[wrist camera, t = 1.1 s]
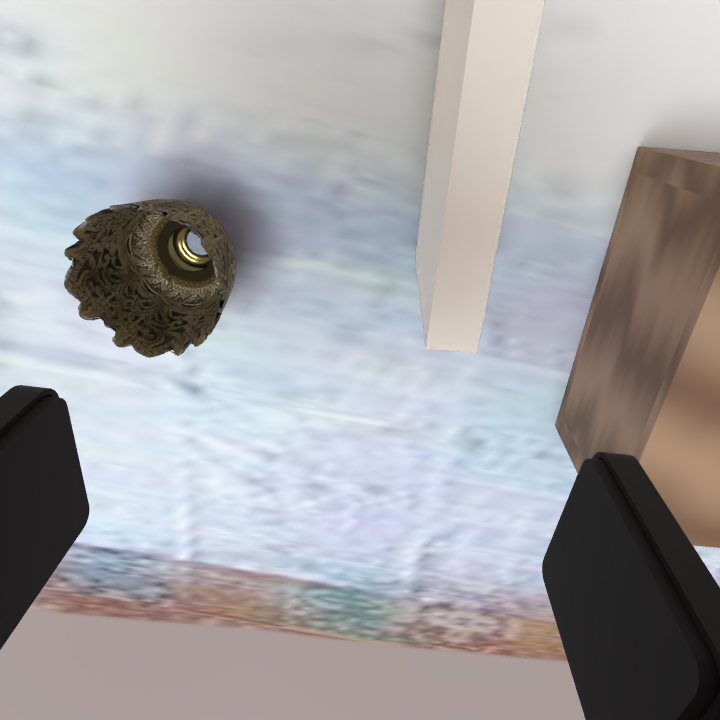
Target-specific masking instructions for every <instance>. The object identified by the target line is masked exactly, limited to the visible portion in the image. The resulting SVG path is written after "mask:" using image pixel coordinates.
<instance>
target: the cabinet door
mask: <svg viewBox="0 0 720 720" xmlns="http://www.w3.org/2000/svg"><path fill="white" fill-rule="evenodd" d="M544 4H545V0H445V7H444V16H443V24H442V33H441V41H440V50H439V58H438V67H437V75H436V84H435V93H434V101H433V110H432V118H431V127H430V135H429V144H428V152H427V161H426V169H425V178H424V187H423V195H422V204H421V212H420V221H419V229H418V238H417V246H416V255H415V263H416V271H417V280H418V288H419V296H420V304H421V312H422V320H423V329H424V337H425V345H426V349H434V350H446V351H458V352H470V353H477V350H478V345H479V340H480V335H481V330H482V325H483V319H484V314H485V309H486V304H487V299H488V293H489V288H490V283H491V278H492V273H493V268H494V262H495V257H496V252H497V247H498V242H499V237H500V231H501V226H502V221H503V216H504V211H505V206H506V200H507V195H508V190H509V185H510V180H511V174H512V169H513V164H514V159H515V154H516V149H517V143H518V138H519V133H520V128H521V123H522V118H523V112H524V107H525V102H526V97H527V92H528V86H529V81H530V76H531V71H532V66H533V61H534V55H535V50H536V45H537V40H538V35H539V30H540V24H541V19H542V14H543V9H544Z"/></svg>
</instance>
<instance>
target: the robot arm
mask: <svg viewBox="0 0 720 720" xmlns="http://www.w3.org/2000/svg"><path fill="white" fill-rule="evenodd" d="M88 516H89V503H88V499H87V494H86V490H85V485H84V480H83V476H82V471H81V467H80V462H79V457H78V453H77V448H76V444H75V439H74V434H73V430H72V425H71V421H70V416H69V411H68V407H67V404H66V401H65V400H64V399H62V398H59V396H58V394H57V393H56V391H55V390H53V389H49V388H41V387H32V386H23V385H19V386H15V387H13V388H11V389H10V390H9V391H7V392H6V393H5V394H4V395H2V396H1V397H0V649H1V648H2V647H3V645H4V644H5V642H6V641H7V639H8V638H9V636H10V635H11V633H12V632H13V631H14V629H15V628H16V626H17V625H18V623H19V622H20V620H21V619H22V617H23V616H24V614H25V613H26V612H27V610H28V609H29V607H30V606H31V604H32V603H33V601H34V600H35V598H36V597H37V595H38V594H39V593H40V591H41V590H42V588H43V587H44V585H45V584H46V582H47V581H48V579H49V578H50V576H51V575H52V574H53V572H54V571H55V569H56V568H57V566H58V565H59V563H60V562H61V560H62V559H63V557H64V556H65V555H66V553H67V552H68V550H69V549H70V547H71V546H72V544H73V543H74V541H75V540H76V538H77V537H78V536H79V534H80V533H81V531H82V530H83V528H84V526H85V525H86V522H87V520H88ZM542 573H543V579H544V583H545V586H546V590H547V593H548V596H549V600H550V603H551V606H552V610H553V613H554V616H555V620H556V623H557V626H558V630H559V633H560V636H561V639H562V643H563V646H564V649H565V653H566V656H567V659H568V663H569V666H570V669H571V673H572V676H573V679H574V683H575V686H576V689H577V693H578V696H579V699H580V702H581V706H582V709H583V712H584V716H585V719H586V720H720V588H719V586H718V584H717V583H716V581H715V580H714V578H713V577H712V575H711V574H710V572H709V570H708V569H707V567H706V566H705V564H704V563H703V561H702V560H701V558H700V556H699V555H698V553H697V552H696V550H695V549H694V547H693V546H692V544H691V542H690V541H689V539H688V538H687V536H686V535H685V533H684V532H683V530H682V528H681V527H680V525H679V524H678V522H677V521H676V519H675V518H674V516H673V514H672V513H671V511H670V510H669V508H668V507H667V505H666V503H665V502H664V500H663V499H662V497H661V496H660V494H659V493H658V491H657V489H656V488H655V486H654V485H653V483H652V482H651V480H650V479H649V477H648V475H647V474H646V472H645V471H644V469H643V468H642V466H641V465H640V463H639V461H638V460H637V459H636V458H635V457H634V456H632V455H626V454H617V453H608V452H597V453H596V454H595V455H594V456H593V458H592V459H589V458H588V459H585V460H584V462H583V463H582V465H581V468H580V470H579V473H578V475H577V478H576V480H575V483H574V485H573V488H572V490H571V492H570V495H569V497H568V500H567V502H566V505H565V507H564V510H563V512H562V515H561V517H560V520H559V522H558V525H557V527H556V530H555V532H554V534H553V537H552V539H551V542H550V544H549V547H548V549H547V552H546V554H545V557H544V560H543V565H542Z"/></svg>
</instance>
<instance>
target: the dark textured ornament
mask: <svg viewBox="0 0 720 720" xmlns="http://www.w3.org/2000/svg"><path fill="white" fill-rule="evenodd" d="M85 221H87V222H83V223H82V224H80V225H79V226H78V227H77V228H75V229H74V231H73V235H74V236H75V237H76V238H77V239H79V241H78V242H77V243H75V244H74V245H72V246H70V247H68V248H67V249H66V250H65V256H66V257H68V259H69V260H72V259H71V258H73V260H72V265H71V267H70V268H69V270H68V271H67V274H66V277H65V282H64V286H65V288H66V289H67V291H68V292H69V293H70V294H71V295H72V296H74V297H75V298H76V299H78V300H79V301H80V302H81V303H80V305H79V307H78V311H79V315H80V317H81V318H83V319H85V320H92V321H93V320H95V319H102V320H103V321H104V324H105V327H107V328H112V329H113V330H114V331H115V332H116V333H115V336H114V338H113V337H112V341H113V342H114V343H115V345H116V346H118V347H128V346H131V345H132V347H133V348H134V350H135V351H136V352H138V353H139V354H141V355H143V356H146V357H155V356H158V355H161V354H164V353H166V352H168V351H171V350H173V351H174V352H172V351H171V352H172V353H174V354H175V355H177V356H179V355H181V354H182V353H183V352H184V351H185V350H186V349H187V347H188V346H189V345H190V344H191V343H192V344H193V345H194V346H195V347H196V346H199V345H200V344H202V343H203V342H204V341H205V340H206V339H207V336H208V335H210V334H211V333H212V331H213V329H214V328H215V326H216V324H217V322H218V321H219V319H220V316H221V314H222V311H223V309H224V307H225V305H226V302H227V300H228V298H229V295H230V293H231V290H232V287H233V284H234V280H235V274H236V257H235V252H234V248H233V245H232V242H231V240H230V238H229V236H228V234H227V233H226V231H225V230H224V228H223V227H222V226H221V224H220V223H219V222H218V221H217V220H216V219H215V218H214V217H213V216H211V215H210V214H209V213H208V212H206V211H205V210H203V209H201V208H199V207H198V206H196V205H193V204H190V203H187V202H184V201H179V200H173V199H156V200H147V201H141V202H135V203H129V204H123V205H114V206H110V208H109V209H104V210H102V211H100V212H98V213H95V214H93V215H91V216H89V217H87V218H86V219H85ZM190 231H192V232H193V233H194V234H196V235H197V236H198V237H199V238H200V239H201V245H202V247H203V248H204V249H205V250H206V252H207V255H205V256H198V255H196V254H194V253H192V252H191V251H190V250H189V248H188V247H187V244H186V236H187V234H188V233H189V232H190ZM94 317H99V318H94ZM91 318H93V319H91Z"/></svg>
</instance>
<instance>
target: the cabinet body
mask: <svg viewBox="0 0 720 720" xmlns="http://www.w3.org/2000/svg"><path fill="white" fill-rule="evenodd" d="M555 427H556V429H557V431H558V433H559V435H560V437H561V439H562V441H563V443H564V445H565V448H566V450H567V452H568V454H569V456H570V458H571V460H572V462H573V464H574V467H575V469H576V471H577V473H579V470H580V468H581V465H582V463H583V462H584V460H585V459H588V458H589V459H592V458H593V456H594V455H595V454H596V453H597V452H608V453H617V454H626V455H632V456H634V457H635V458H636V459H637V460H638V461H639V463H640V465H641V466H642V468H643V469H644V471H645V472H646V474H647V475H648V477H649V479H650V480H651V482H652V483H653V485H654V486H655V488H656V489H657V491H658V493H659V494H660V496H661V497H662V499H663V500H664V502H665V503H666V505H667V507H668V508H669V510H670V511H671V513H672V514H673V516H674V518H675V519H676V521H677V522H678V524H679V525H680V527H681V528H682V530H683V532H684V533H685V535H686V536H687V538H688V539H689V541H690V542H691V544H692V545H695V546H706V547H717V548H720V153H714V152H700V151H686V150H673V149H659V148H646V147H638V149H637V153H636V156H635V159H634V163H633V166H632V169H631V173H630V176H629V180H628V183H627V186H626V190H625V193H624V196H623V200H622V203H621V206H620V210H619V213H618V217H617V220H616V223H615V227H614V230H613V233H612V237H611V240H610V243H609V247H608V250H607V253H606V257H605V260H604V264H603V267H602V270H601V274H600V277H599V280H598V284H597V287H596V290H595V294H594V297H593V301H592V304H591V307H590V311H589V314H588V317H587V321H586V324H585V327H584V331H583V334H582V337H581V341H580V344H579V348H578V351H577V354H576V358H575V361H574V364H573V368H572V371H571V374H570V378H569V381H568V384H567V388H566V391H565V395H564V398H563V401H562V405H561V408H560V411H559V415H558V418H557V421H556V425H555Z"/></svg>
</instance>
